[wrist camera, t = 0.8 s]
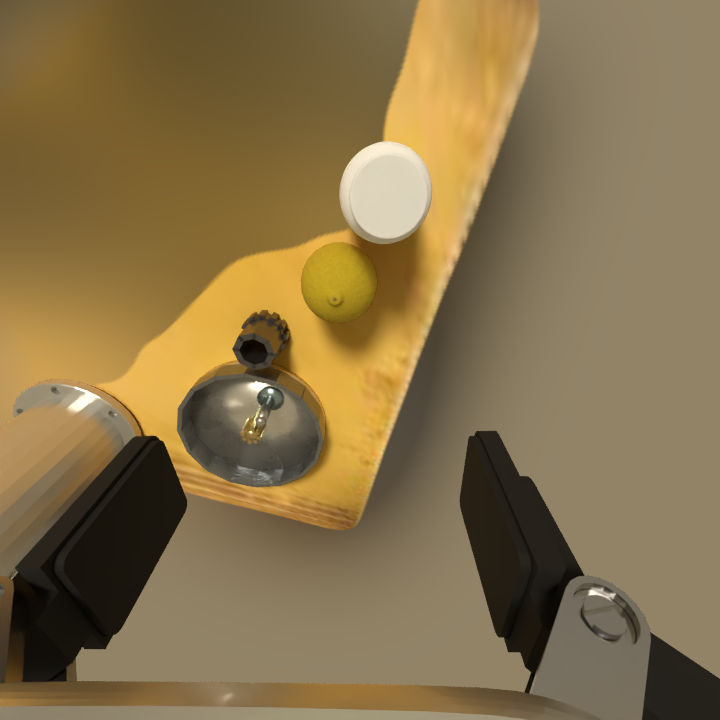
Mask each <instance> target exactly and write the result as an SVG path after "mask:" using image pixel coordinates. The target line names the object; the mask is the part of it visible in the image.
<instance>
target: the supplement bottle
mask: <svg viewBox="0 0 720 720" xmlns="http://www.w3.org/2000/svg"><path fill="white" fill-rule="evenodd" d="M431 198H432V184H431V179H430V175H429V172H428V169H427V167H426V165H425V163H424V162H423V160H422V159H421V158H420V157H419V155H418V154H417V153H415V152H414V151H413V150H412V149H410V148H409V147H407V146H405V145H403V144H400V143H396V142H379V143H376V144H373V145H370V146H368V147H366V148H364V149H363V150H361V151H360V152H359V153H357V154H356V155H355V156H354V158H353V159H352V160H351V161H350V163H349V164H348V166H347V167H346V170H345V172H344V174H343V177H342V180H341V184H340V204H341V209H342V212H343V215H344V218H345V219H346V221H347V223H348V225H349V226H350V227H351V229H352V230H353V231H354V232H355V233H356V234H357V235H359V236H360V237H361V238H363V239H365V240H367V241H369V242H373V243H377V244H391V243H395V242H398V241H401V240H403V239H405V238H407V237H409V236H410V235H411V234H413V233H414V232H415V231H416V230H417V229H418V228H419V227H420V225H421V224H422V223H423V221H424V219H425V218H426V215H427V213H428V211H429V208H430V204H431Z"/></svg>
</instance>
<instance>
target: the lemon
mask: <svg viewBox="0 0 720 720" xmlns="http://www.w3.org/2000/svg"><path fill="white" fill-rule="evenodd" d="M301 289H302V294H303V297H304V300H305V302H306V304H307V305H308V307H309V309H310V310H311V311H312V312H313V313H314V314H315V315H317V316H318V317H320V318H321V319H323V320H326V321H329V322H333V323H344V322H349V321H352V320H354V319H356V318H358V317H359V316H361V315H362V314H363V313H364V312H365V311H366V310H367V309H368V308H369V306H370V305H371V303H372V301H373V299H374V297H375V294H376V289H377V274H376V271H375V268H374V265H373V263H372V261H371V260H370V258H369V257H368V255H367V254H365V253H364V252H363V251H362V250H361V249H359V248H358V247H356V246H354V245H352V244H347V243H343V242H340V243H331V244H328V245H324V246H322V247H321V248H319V249H318V250H316V251H315V252H314V253H313V254H312V255H311V256H310V258H309V259H308V260H307V262H306V264H305V266H304V268H303V272H302V277H301Z"/></svg>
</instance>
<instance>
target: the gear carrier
mask: <svg viewBox="0 0 720 720" xmlns="http://www.w3.org/2000/svg"><path fill="white" fill-rule="evenodd" d="M325 430H326V427H325V414H324V410H323V407H322V404H321V402H320V400H319V398H318V396H317V395H316V393H315V392H314V391H313V390H312V388H311V387H310V386H309V385H308V384H307V383H306V382H305V381H304V380H303V379H301V378H300V377H299V376H297V375H296V374H294V373H293V372H291V371H289V370H287V369H285V368H283V367H281V366H278V365H275V364H272V363H271V364H270V366H269V367H267V368H263V369H258V370H252V369H250V368H248V367H246V366H244V365H242V364H240V363H239V362H238V361H231V362H228V363H224V364H221V365H219V366H217V367H215V368H213V369H212V370H210V371H208V372H207V373H206V374H205V375H204V376H202V377H201V378H199V380H198V381H197V382H196V383H195V384H194V386H193V387H192V388H191V389H190V391H189V392H188V394H187V395H186V397H185V398H184V400H183V401H182V403H181V404H180V406H179V408H178V421H177V431H178V433H179V436H180V438H181V440H182V442H183V444H184V446H185V448H186V450H187V452H188V453H189V454H190V455H191V456H192V457H193V458H194V459H195V460H196V461H197V462H198V463H199V464H200V465H201V466H202V467H203V468H204V469H205V470H207V471H209V472H211V473H213V474H215V475H217V476H219V477H221V478H223V479H225V480H227V481H229V482H232V483H237V484H242V485H246V486H251V487H269V486H281V485H284V484H286V483H289V482H291V481H294V480H296V479H299V478H301V477H303V476H304V475H305V474H306V473H307V472H308V471H309V470H310V469H311V468H312V467H313V466H314V465H315V464H316V463H317V462H318V459H319V455H320V452H321V449H322V445H323V442H324V436H325Z"/></svg>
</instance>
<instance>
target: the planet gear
mask: <svg viewBox="0 0 720 720" xmlns="http://www.w3.org/2000/svg"><path fill="white" fill-rule="evenodd" d="M278 316H279V315H278V314H277V313H275V312H274V313H273V314H272V315H271V314H269V313H268V310H262V311H261V312H260V313H259V315H258V314H257V312H255V313H253V314H251V316H250V317H249V318H248V319H247V320H246V321H245V322H244V323H243V326H242V329H244V330H243V331H242V332H241V334H240V335H239V336H238V338H237V341H236V343H235V345H234V347H233V351H234V353H235V355H236V358H237V360H238V362H239V363H240V364H242V365H244V366H246V367H248V368H250V369H252V370H258V369H263V368H267V367H269V366H270V364H271V362H272V360H273V359H274V357H275V356H276V355H278V354H280V352H281V350H282V349H283V350H284V348H285V346H286V345H287V343H288V341H289V340H288V337H289V335H290V330H289V329H285V327H286V325H287V323H286V321H285V320H280V319H278Z"/></svg>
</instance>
